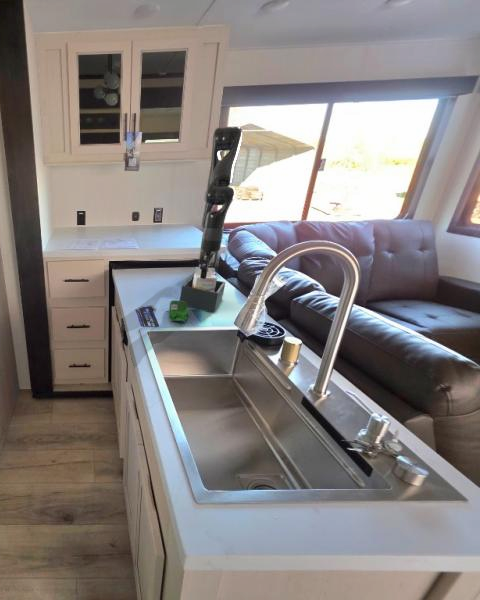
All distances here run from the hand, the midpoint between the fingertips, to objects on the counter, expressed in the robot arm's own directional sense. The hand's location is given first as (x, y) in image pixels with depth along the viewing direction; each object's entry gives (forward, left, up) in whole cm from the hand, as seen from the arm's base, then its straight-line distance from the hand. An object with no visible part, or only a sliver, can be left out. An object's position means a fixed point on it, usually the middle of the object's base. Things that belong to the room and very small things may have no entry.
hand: (205, 275), depth 134 cm
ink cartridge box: (0, 0, -12) cm, 12 cm away
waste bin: (0, 0, -13) cm, 13 cm away
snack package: (+20, -4, -13) cm, 24 cm away
